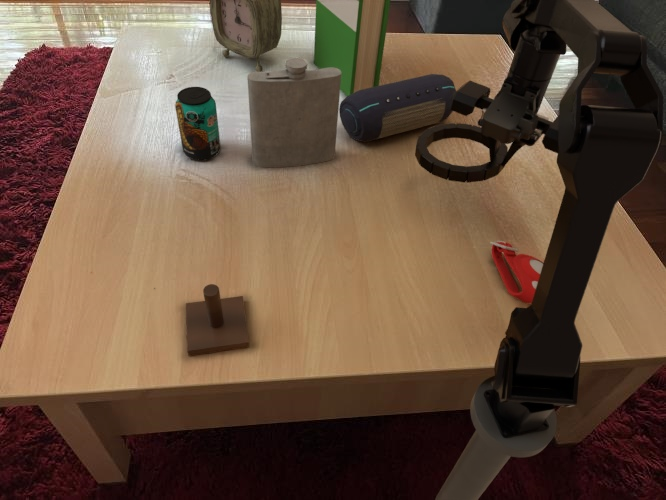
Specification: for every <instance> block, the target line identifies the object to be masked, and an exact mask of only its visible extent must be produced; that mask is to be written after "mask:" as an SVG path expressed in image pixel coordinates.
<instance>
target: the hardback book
mask: <svg viewBox="0 0 666 500" xmlns="http://www.w3.org/2000/svg"><path fill="white" fill-rule="evenodd" d="M315 2H316V3H315V22H314V45H313V46H314V47H313V49H314V50H313V64H314V65H315V66H316V67H317V69H322V68H328V67H334V68H338V69H339V70H341V84H340V92H342V93H343V94H344V95H345V96H346V97H347V96H349V95H351V94H353V93H355V92H357V91H359V90H362V89H367V88H371V87H376V86H380V79H381V78H380V77H381V72H382V65H383V64H382V63H383V57H384V51H385V42H386V37H387V36H386V35H387V29H388V28H387V27H388V21H389V15H390V14H389V13H390V7H391V0H315Z"/></svg>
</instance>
